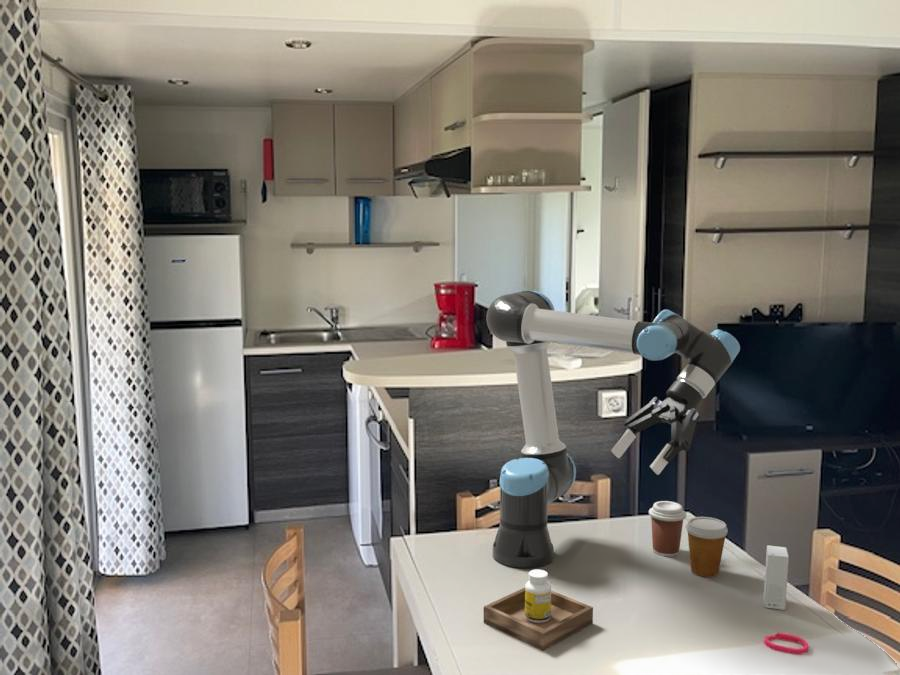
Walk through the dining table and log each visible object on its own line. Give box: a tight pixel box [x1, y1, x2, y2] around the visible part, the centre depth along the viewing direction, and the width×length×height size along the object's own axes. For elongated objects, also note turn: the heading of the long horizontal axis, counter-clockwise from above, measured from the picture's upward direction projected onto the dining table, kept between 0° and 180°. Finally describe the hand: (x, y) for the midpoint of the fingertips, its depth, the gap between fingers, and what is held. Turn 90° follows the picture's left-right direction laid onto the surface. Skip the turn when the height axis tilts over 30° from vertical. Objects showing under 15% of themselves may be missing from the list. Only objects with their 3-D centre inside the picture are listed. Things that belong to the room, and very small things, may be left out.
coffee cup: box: [648, 500, 687, 557], centre depth 215 cm, size 9×9×12 cm
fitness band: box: [763, 631, 810, 655], centre depth 169 cm, size 8×6×2 cm
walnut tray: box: [483, 587, 594, 651], centre depth 178 cm, size 16×16×4 cm
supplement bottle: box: [524, 568, 552, 623], centre depth 178 cm, size 5×5×10 cm
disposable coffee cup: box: [685, 516, 729, 578], centre depth 203 cm, size 10×10×12 cm
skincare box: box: [763, 545, 790, 611], centre depth 186 cm, size 6×4×12 cm
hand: (633, 462), depth 189 cm, fingers open, 13 cm apart
